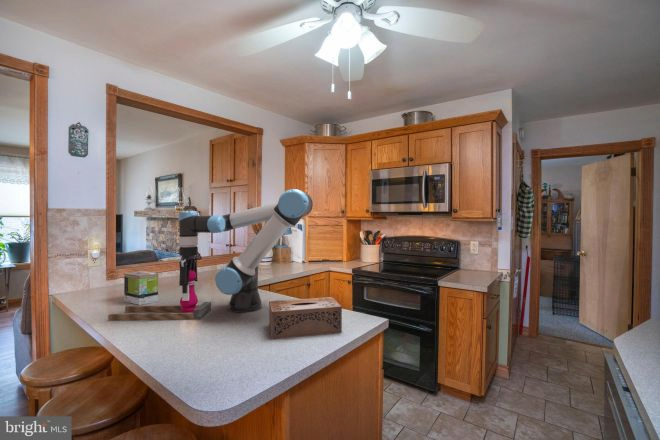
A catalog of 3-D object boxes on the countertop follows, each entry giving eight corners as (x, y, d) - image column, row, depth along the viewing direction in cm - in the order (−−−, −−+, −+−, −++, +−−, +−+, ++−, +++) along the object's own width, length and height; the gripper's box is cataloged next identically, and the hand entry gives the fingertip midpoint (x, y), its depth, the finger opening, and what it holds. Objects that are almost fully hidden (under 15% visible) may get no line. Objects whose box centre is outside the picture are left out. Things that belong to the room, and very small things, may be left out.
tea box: (159, 301, 162) (159, 272, 162) (138, 306, 154) (138, 275, 153) (143, 297, 170) (143, 270, 170) (123, 301, 162) (123, 272, 162)
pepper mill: (183, 309, 143) (183, 265, 142) (200, 309, 143) (199, 265, 143) (177, 314, 135) (176, 267, 135) (194, 313, 136) (194, 267, 136)
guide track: (211, 310, 146) (211, 301, 146) (200, 319, 133) (200, 310, 133) (126, 311, 145) (126, 302, 144) (108, 320, 132) (108, 311, 132)
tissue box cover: (272, 339, 112) (272, 311, 112) (269, 326, 126) (269, 301, 126) (341, 333, 118) (341, 306, 118) (331, 320, 132) (331, 297, 132)
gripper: (188, 244, 149) (189, 293, 149) (169, 248, 129) (170, 304, 129) (205, 244, 149) (205, 292, 149) (188, 248, 130) (188, 304, 130)
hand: (188, 298), depth 139 cm, fingers closed on pepper mill, 6 cm apart
